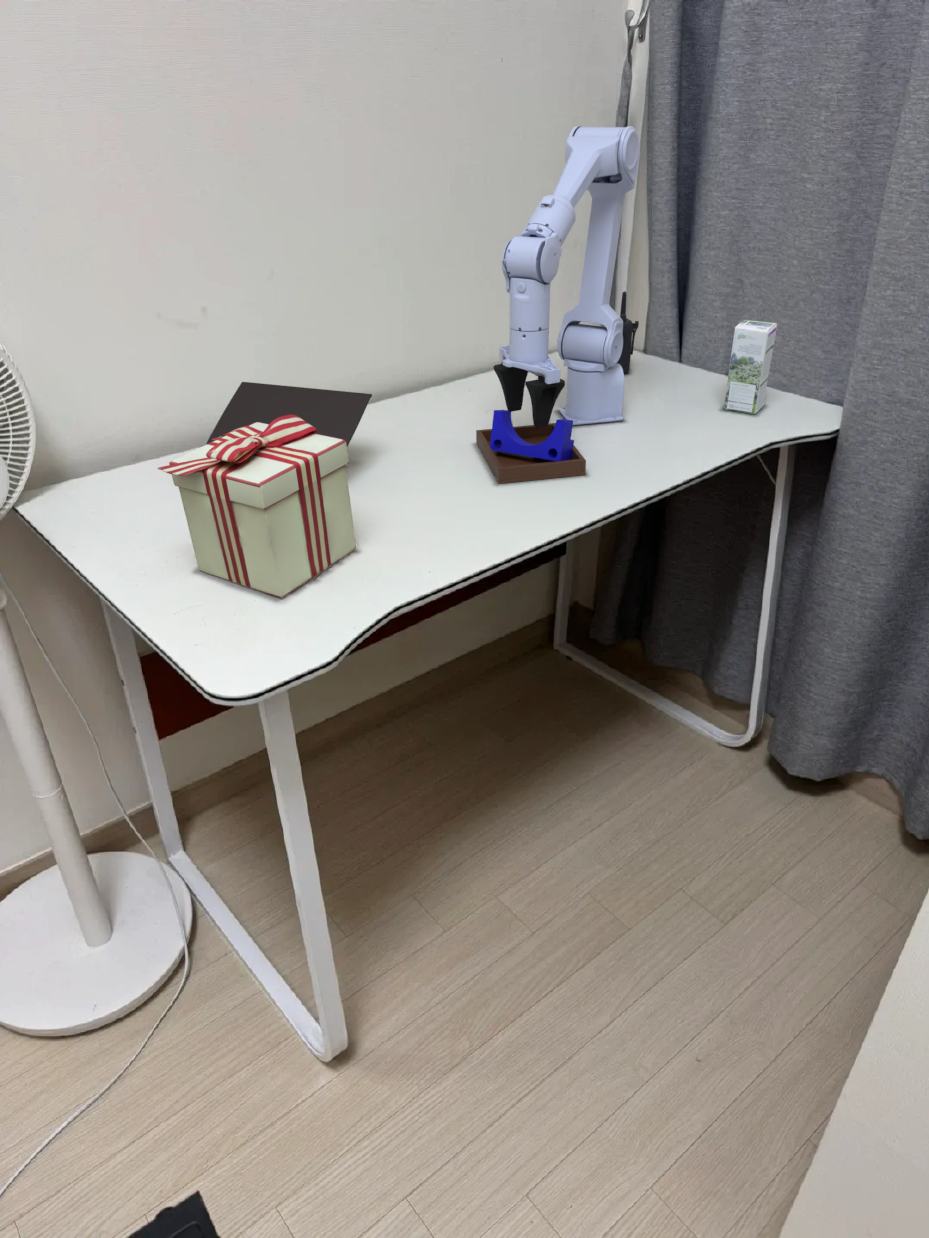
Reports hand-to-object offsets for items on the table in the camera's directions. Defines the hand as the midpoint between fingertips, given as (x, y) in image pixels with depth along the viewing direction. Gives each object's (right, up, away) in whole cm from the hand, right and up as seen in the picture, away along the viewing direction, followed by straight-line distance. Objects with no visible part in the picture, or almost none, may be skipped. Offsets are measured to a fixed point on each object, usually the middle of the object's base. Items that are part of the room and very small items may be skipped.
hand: (527, 418), depth 131 cm
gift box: (-35, -23, -22) cm, 47 cm away
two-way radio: (+22, +19, +40) cm, 50 cm away
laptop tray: (-38, -9, 0) cm, 39 cm away
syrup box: (+40, +6, +21) cm, 45 cm away
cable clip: (+1, -5, +2) cm, 6 cm away
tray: (0, -6, +4) cm, 7 cm away
